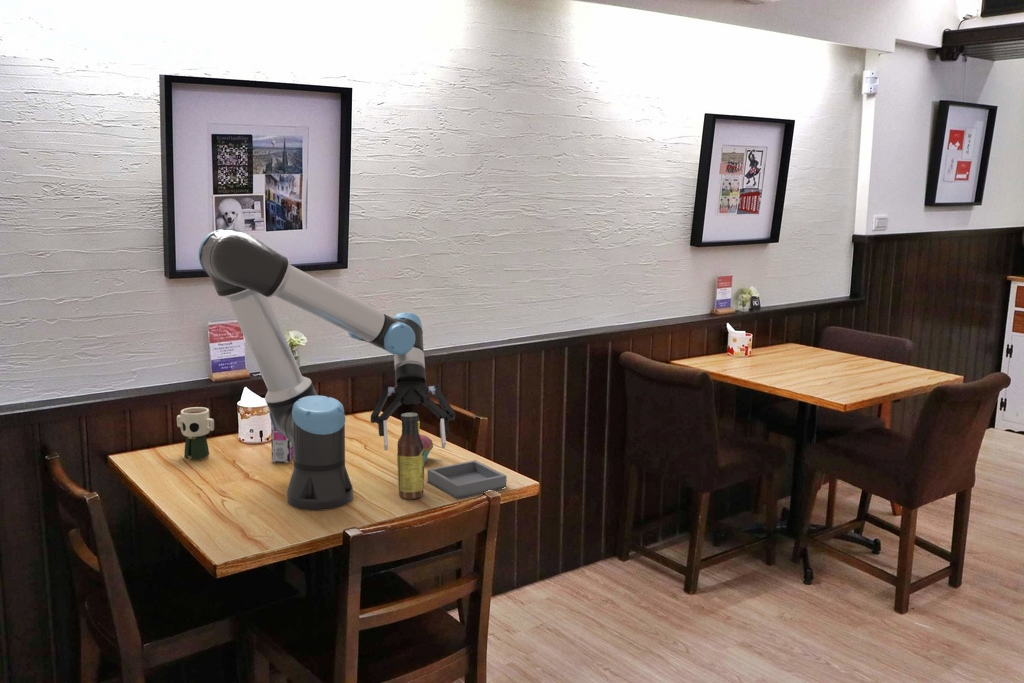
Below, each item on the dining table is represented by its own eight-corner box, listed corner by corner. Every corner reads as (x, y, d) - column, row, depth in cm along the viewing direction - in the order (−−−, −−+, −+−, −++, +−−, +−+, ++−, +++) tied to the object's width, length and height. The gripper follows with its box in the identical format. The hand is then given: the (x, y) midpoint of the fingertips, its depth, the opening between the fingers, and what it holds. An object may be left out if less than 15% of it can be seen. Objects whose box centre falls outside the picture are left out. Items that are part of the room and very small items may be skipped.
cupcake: (436, 464, 241) (437, 420, 239) (405, 467, 238) (405, 422, 236) (427, 454, 249) (427, 411, 247) (397, 457, 246) (396, 414, 244)
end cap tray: (457, 499, 216) (457, 486, 216) (427, 482, 228) (427, 469, 227) (506, 488, 224) (506, 475, 224) (475, 472, 236) (475, 460, 235)
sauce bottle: (429, 497, 217) (429, 416, 214) (405, 502, 214) (405, 419, 210) (415, 489, 223) (416, 409, 219) (392, 493, 219) (392, 413, 215)
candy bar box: (290, 463, 239) (289, 402, 236) (271, 463, 239) (269, 402, 236) (299, 450, 250) (297, 392, 247) (280, 450, 250) (279, 391, 247)
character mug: (170, 460, 240) (168, 411, 238) (187, 452, 247) (184, 405, 244) (207, 464, 237) (205, 415, 235) (222, 456, 244) (220, 408, 242)
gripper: (458, 376, 234) (465, 451, 223) (358, 378, 229) (361, 455, 218) (461, 360, 228) (469, 437, 216) (359, 362, 223) (361, 440, 212)
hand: (415, 446), depth 217 cm, fingers open, 13 cm apart
